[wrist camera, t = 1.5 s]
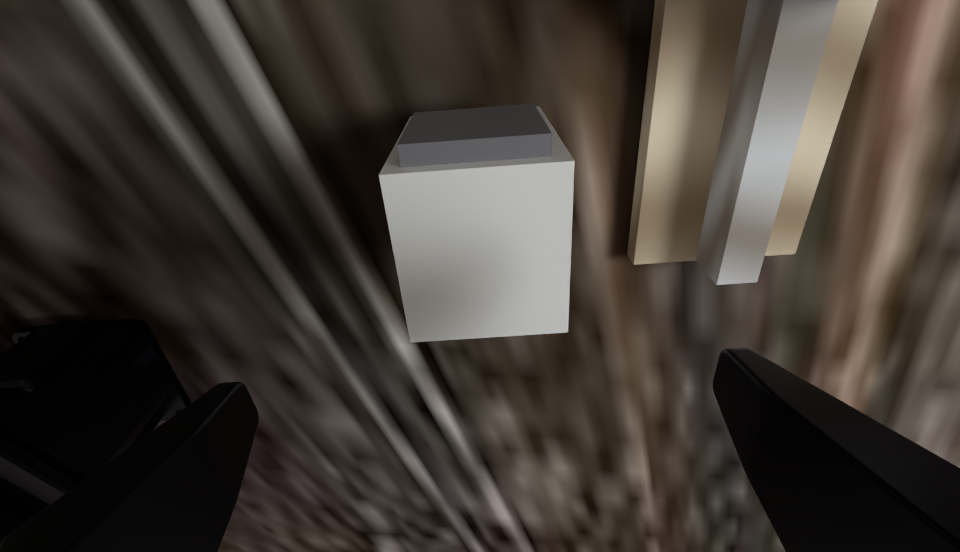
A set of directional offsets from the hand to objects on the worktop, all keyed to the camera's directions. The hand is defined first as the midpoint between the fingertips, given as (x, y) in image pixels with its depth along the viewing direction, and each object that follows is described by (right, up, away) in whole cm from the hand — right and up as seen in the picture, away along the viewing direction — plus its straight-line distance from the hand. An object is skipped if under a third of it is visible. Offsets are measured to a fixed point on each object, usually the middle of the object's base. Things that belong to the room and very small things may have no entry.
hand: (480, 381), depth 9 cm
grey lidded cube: (0, +6, +10) cm, 12 cm away
